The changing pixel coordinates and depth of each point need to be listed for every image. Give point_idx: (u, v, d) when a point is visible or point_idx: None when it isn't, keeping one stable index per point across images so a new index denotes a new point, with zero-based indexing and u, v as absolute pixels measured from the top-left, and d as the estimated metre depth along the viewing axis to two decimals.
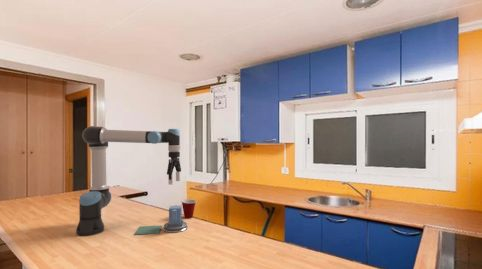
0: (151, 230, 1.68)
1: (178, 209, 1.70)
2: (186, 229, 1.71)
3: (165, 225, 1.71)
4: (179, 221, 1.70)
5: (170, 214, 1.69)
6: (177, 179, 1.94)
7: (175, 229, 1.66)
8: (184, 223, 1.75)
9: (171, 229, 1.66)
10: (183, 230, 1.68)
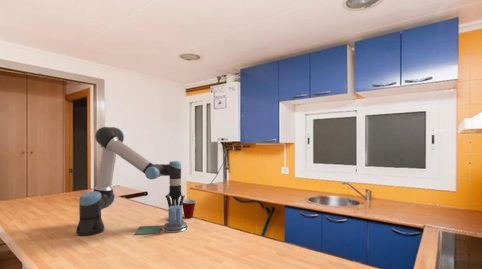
0: (151, 230, 1.68)
1: (177, 209, 1.70)
2: (186, 229, 1.71)
3: (165, 225, 1.72)
4: (178, 221, 1.70)
5: (170, 214, 1.69)
6: None
7: (174, 229, 1.66)
8: (184, 223, 1.75)
9: (170, 229, 1.66)
10: (183, 230, 1.68)
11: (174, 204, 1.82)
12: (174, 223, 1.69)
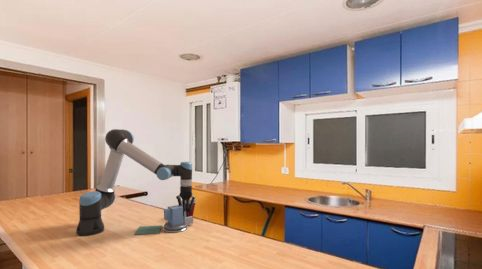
0: (151, 230, 1.68)
1: (171, 209, 1.69)
2: (186, 229, 1.71)
3: None
4: (172, 222, 1.69)
5: None
6: None
7: (165, 228, 1.68)
8: (181, 226, 1.70)
9: (164, 227, 1.70)
10: (183, 230, 1.68)
11: (185, 205, 1.81)
12: (170, 222, 1.71)
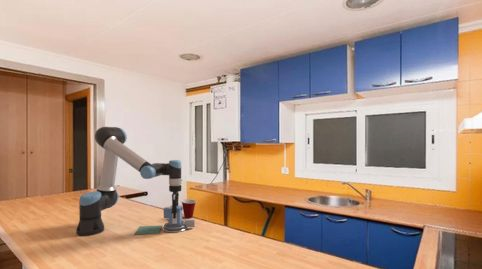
0: (151, 230, 1.68)
1: None
2: (186, 229, 1.71)
3: None
4: None
5: None
6: None
7: None
8: (175, 227, 1.67)
9: None
10: (183, 230, 1.68)
11: None
12: None
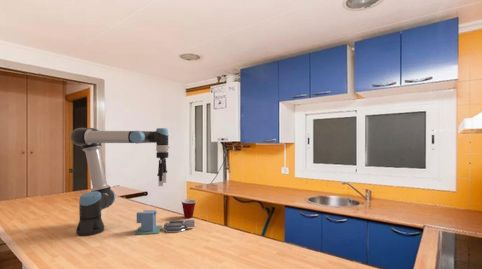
0: None
1: None
2: (186, 229, 1.71)
3: None
4: None
5: None
6: (163, 180, 1.86)
7: None
8: (175, 227, 1.67)
9: None
10: (183, 230, 1.68)
11: None
12: None
